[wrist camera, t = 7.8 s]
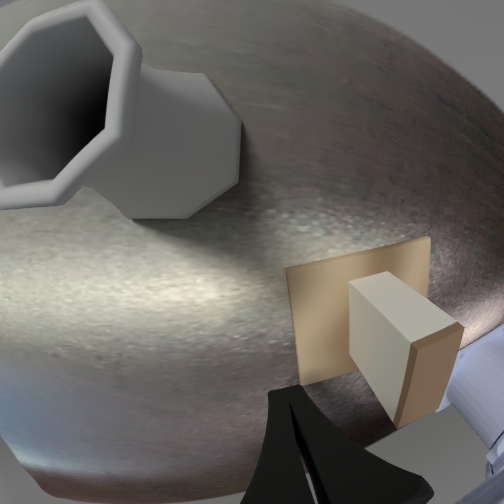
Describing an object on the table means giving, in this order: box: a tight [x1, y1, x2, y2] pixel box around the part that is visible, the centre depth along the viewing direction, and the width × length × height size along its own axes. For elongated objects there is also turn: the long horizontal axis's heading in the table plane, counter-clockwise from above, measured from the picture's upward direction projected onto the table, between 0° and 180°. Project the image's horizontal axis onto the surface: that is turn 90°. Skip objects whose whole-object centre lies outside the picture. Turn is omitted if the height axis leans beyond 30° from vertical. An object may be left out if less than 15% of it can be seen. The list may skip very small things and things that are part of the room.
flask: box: [0, 0, 242, 219], centre depth 7 cm, size 7×7×10 cm
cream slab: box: [348, 271, 465, 429], centre depth 12 cm, size 2×5×6 cm, turn 10°
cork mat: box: [285, 236, 431, 386], centre depth 15 cm, size 9×8×1 cm
